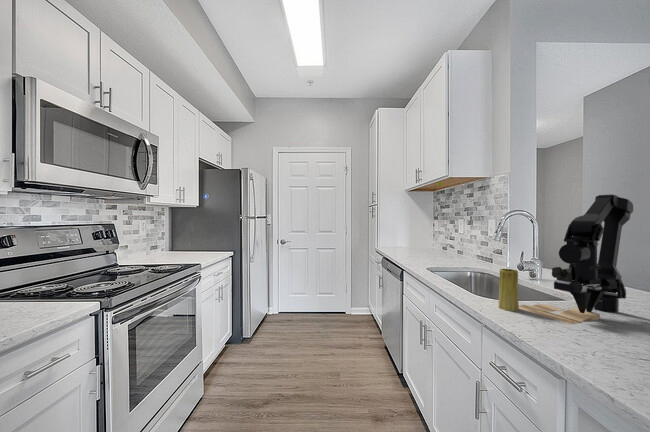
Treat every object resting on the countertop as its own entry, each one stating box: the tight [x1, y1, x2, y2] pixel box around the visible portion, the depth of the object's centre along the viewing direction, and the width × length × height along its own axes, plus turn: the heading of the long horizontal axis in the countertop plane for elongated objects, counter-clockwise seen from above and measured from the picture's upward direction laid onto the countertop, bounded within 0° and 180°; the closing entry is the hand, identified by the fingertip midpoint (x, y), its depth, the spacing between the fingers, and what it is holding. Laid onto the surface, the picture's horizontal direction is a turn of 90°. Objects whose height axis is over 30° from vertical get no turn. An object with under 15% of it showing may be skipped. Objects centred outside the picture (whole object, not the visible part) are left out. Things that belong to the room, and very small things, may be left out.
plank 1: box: [529, 303, 565, 313], centre depth 112 cm, size 8×8×1 cm
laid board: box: [519, 304, 583, 325], centre depth 105 cm, size 5×20×2 cm, turn 17°
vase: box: [498, 268, 520, 312], centre depth 110 cm, size 6×6×14 cm
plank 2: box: [556, 307, 601, 323], centre depth 102 cm, size 8×8×1 cm
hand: (585, 312), depth 101 cm, fingers open, 2 cm apart
